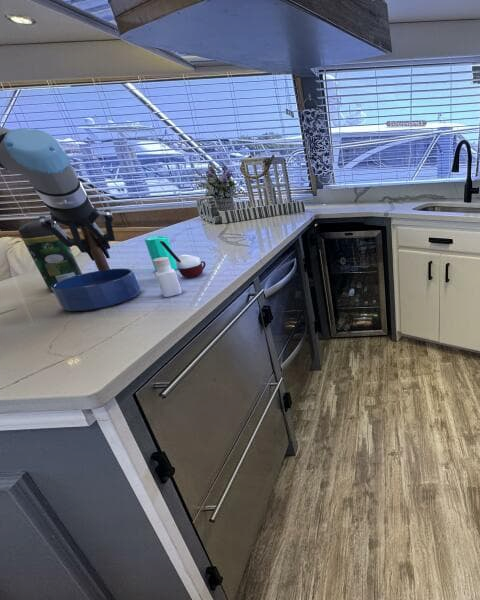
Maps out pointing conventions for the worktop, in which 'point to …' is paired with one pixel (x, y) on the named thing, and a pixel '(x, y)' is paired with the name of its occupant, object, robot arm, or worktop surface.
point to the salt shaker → (166, 277)
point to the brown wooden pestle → (95, 249)
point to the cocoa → (187, 264)
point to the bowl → (96, 289)
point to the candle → (160, 249)
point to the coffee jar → (49, 253)
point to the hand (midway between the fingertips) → (100, 255)
